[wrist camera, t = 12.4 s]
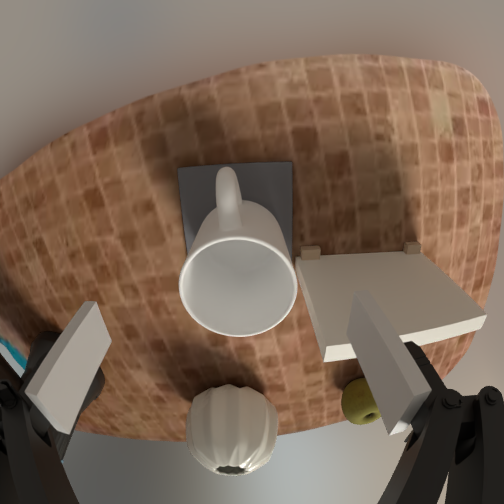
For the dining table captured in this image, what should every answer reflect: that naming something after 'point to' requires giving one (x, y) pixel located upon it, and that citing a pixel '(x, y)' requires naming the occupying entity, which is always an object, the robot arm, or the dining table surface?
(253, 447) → the vase
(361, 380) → the apple
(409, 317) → the screen
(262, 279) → the mug
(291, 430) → the dining table surface
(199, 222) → the pad
